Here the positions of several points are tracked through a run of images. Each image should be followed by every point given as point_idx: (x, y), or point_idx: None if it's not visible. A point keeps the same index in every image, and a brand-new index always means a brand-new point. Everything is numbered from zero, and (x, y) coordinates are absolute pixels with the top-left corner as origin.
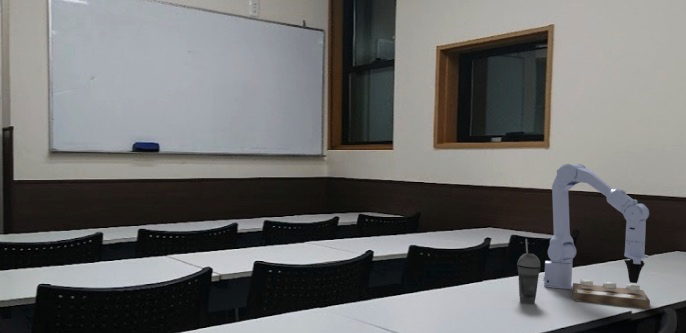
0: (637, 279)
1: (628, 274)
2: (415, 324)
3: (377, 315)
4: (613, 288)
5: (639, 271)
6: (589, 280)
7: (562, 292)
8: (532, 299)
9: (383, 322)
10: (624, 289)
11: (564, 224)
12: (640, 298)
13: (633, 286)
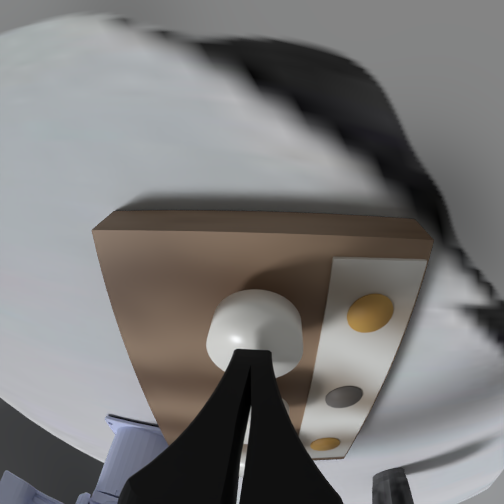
0: (274, 374)
1: (243, 437)
2: (491, 477)
3: (458, 498)
4: (284, 403)
5: (299, 440)
6: (243, 466)
7: None
8: (405, 477)
9: (480, 487)
10: (153, 329)
11: None
12: (406, 289)
13: (301, 353)
